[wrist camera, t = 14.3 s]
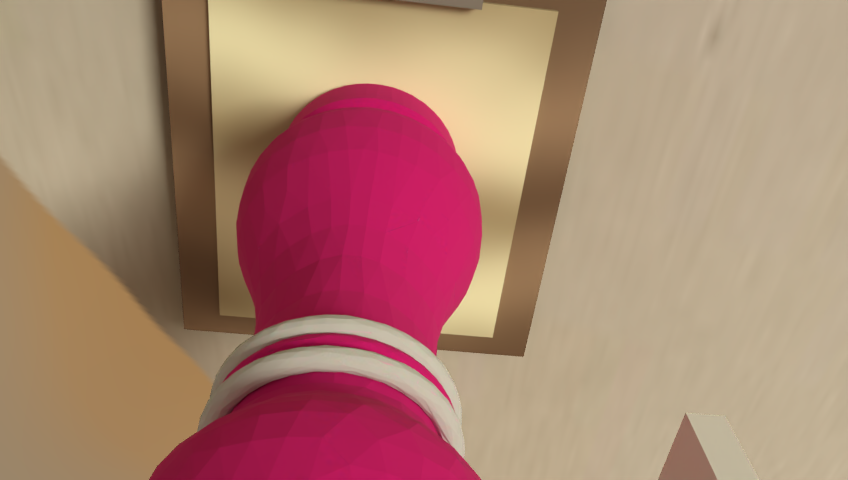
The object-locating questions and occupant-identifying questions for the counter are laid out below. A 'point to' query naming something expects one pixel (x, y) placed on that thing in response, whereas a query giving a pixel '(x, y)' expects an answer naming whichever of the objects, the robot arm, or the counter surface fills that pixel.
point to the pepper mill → (345, 302)
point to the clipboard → (402, 69)
